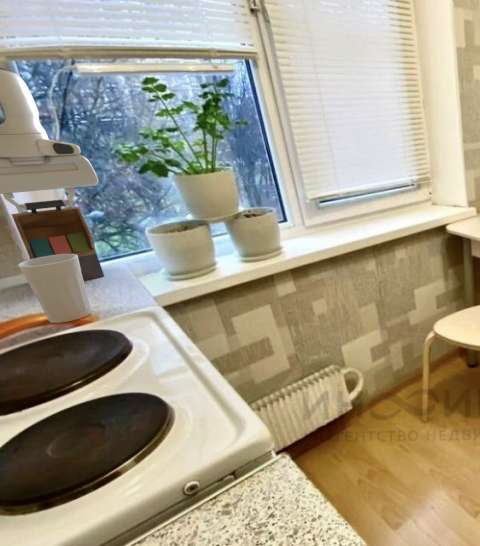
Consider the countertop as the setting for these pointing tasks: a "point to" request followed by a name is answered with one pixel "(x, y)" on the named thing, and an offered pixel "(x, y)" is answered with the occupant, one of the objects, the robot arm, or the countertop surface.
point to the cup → (58, 286)
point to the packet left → (41, 247)
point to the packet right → (77, 242)
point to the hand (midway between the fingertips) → (47, 210)
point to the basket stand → (90, 267)
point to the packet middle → (60, 245)
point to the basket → (52, 225)
